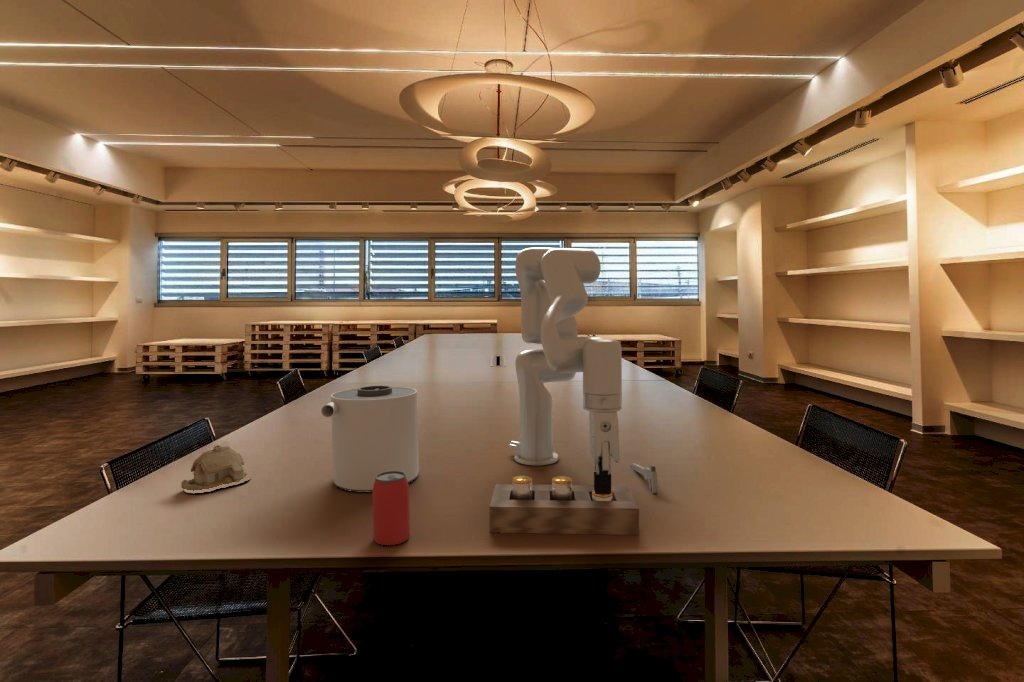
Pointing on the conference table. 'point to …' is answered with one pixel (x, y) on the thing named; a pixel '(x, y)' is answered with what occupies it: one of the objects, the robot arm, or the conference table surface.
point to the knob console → (564, 512)
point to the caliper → (648, 475)
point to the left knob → (522, 488)
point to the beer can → (391, 508)
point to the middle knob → (562, 488)
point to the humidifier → (373, 434)
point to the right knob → (601, 497)
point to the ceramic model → (215, 469)
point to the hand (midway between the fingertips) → (602, 492)
